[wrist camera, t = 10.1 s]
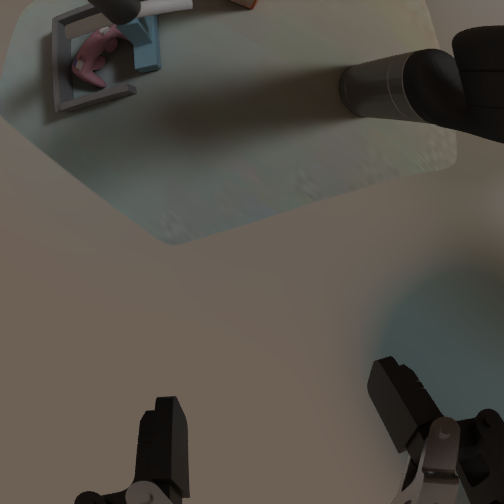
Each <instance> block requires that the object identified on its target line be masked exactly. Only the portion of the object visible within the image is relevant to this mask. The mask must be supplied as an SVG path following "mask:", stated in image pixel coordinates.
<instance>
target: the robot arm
mask: <svg viewBox="0 0 504 504" xmlns="http://www.w3.org/2000/svg"><path fill="white" fill-rule="evenodd" d="M452 48H453V53H454V58H453V57H452V56H451V55H450V54H448V53H446V52H444V51H441V50H438V49H425V50H419V51H414V52H409V53H404V54H400V55H395V56H391V57H386V58H382V59H378V60H374V61H370V62H366V63H362V64H358V65H355V66H352V67H350V68H348V69H347V70H346V71H345V72H344V73H343V75H342V77H341V80H340V88H339V89H340V95H341V98H342V100H343V102H344V104H345V105H346V107H347V108H348V109H349V110H350V111H351V112H353V113H354V114H356V115H358V116H361V117H370V118H381V119H393V120H403V121H412V122H421V123H429V124H436V125H438V126H440V127H444V128H449V129H454V130H458V131H462V132H466V133H470V134H473V135H476V136H479V137H482V138H485V139H489V140H492V141H496V142H500V143H504V25H503V26H482V27H475V28H471V29H466V30H464V31H461V32H459V33H458V34H457V35H455V37H454V38H453V40H452ZM367 388H368V393H369V395H370V398H371V400H372V401H373V403H374V405H375V407H376V409H377V411H378V413H379V415H380V417H381V419H382V421H383V423H384V425H385V427H386V429H387V431H388V432H389V435H390V437H391V439H392V441H393V443H394V445H395V447H396V449H397V451H398V453H402V452H404V451H406V450H407V451H408V453H409V456H408V459H407V463H406V467H405V470H404V474H403V477H402V480H401V484H400V487H399V490H398V492H397V495H396V497H395V498H394V500H393V501H392V503H391V504H455V500H456V496H457V490H458V486H459V478H460V480H461V482H462V485H463V487H464V489H465V492H466V494H467V496H468V499H469V501H470V503H471V504H504V422H503V420H502V419H501V417H500V415H499V414H498V413H497V412H496V411H494V410H492V409H484V410H482V411H480V412H479V413H478V415H477V416H476V417H475V418H472V419H466V420H461V421H455V420H454V419H452V418H450V417H445V416H443V415H442V413H441V412H440V411H439V409H438V407H437V406H436V404H435V403H434V401H433V400H432V398H431V397H430V395H429V394H428V392H427V391H426V389H424V386H423V385H422V383H421V382H419V379H418V377H417V376H416V375H415V373H414V372H413V371H412V370H411V369H410V368H408V367H407V366H405V365H404V364H403V365H400V366H399V365H398V363H397V362H396V360H395V359H394V358H393V357H391V356H389V357H386V358H383V359H379V360H376V361H374V363H373V366H372V370H371V373H370V377H369V380H368V384H367ZM455 469H456V471H457V474H458V476H459V477H458V476H456V475H455ZM189 497H190V493H189V468H188V428H187V421H186V417H185V415H184V412H183V410H182V408H181V406H180V404H179V402H178V399H177V397H176V396H170V397H157V398H156V403H155V410H152V411H146V412H145V414H144V415H143V417H142V419H141V420H140V426H139V435H138V445H137V455H136V468H135V478H134V481H133V482H132V484H131V485H130V487H128V488H127V489H126V490H124V491H121V492H117V493H112V494H107V495H102V496H101V495H99V494H97V493H95V492H92V491H87V492H83V493H81V494H80V495H78V496H77V498H76V500H75V503H74V504H182V498H189Z"/></svg>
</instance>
